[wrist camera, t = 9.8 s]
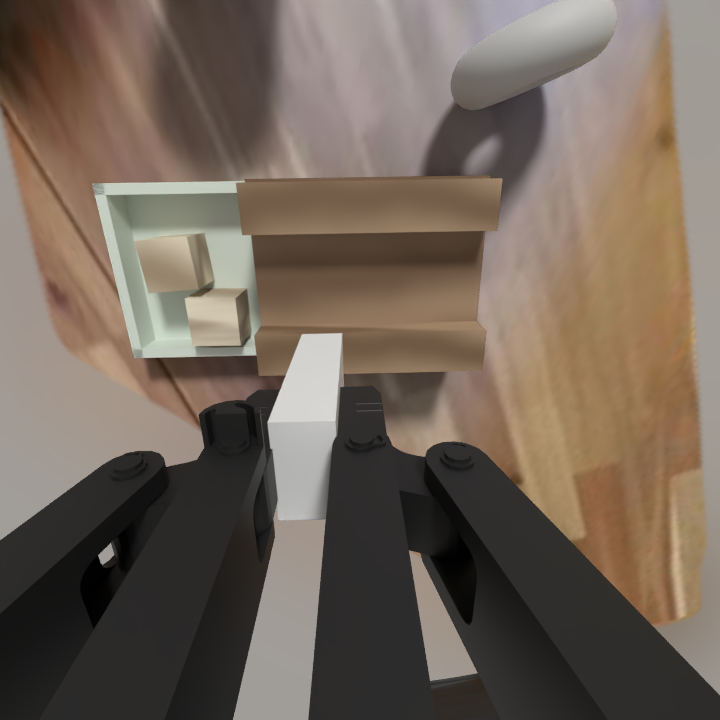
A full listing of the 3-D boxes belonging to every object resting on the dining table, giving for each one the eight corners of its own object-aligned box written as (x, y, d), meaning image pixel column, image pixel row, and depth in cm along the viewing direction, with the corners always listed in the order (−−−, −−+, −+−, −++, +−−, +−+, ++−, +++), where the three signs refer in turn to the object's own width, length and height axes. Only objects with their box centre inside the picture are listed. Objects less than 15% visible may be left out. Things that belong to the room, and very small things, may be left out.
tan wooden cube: (148, 293, 32) (169, 283, 35) (198, 289, 32) (214, 279, 35) (134, 241, 30) (157, 236, 34) (186, 236, 30) (204, 232, 34)
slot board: (455, 338, 39) (482, 374, 31) (277, 342, 38) (259, 379, 30) (467, 179, 33) (503, 172, 26) (262, 182, 33) (235, 177, 25)
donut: (444, 128, 32) (482, 100, 23) (431, 80, 31) (467, 29, 22) (568, 78, 31) (662, 26, 22) (561, 25, 30) (656, -53, 20)
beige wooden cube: (247, 288, 36) (251, 331, 37) (201, 288, 36) (208, 331, 37) (235, 298, 32) (240, 345, 34) (184, 298, 32) (192, 345, 33)
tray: (272, 342, 38) (266, 355, 35) (151, 345, 38) (134, 358, 35) (256, 182, 33) (246, 181, 30) (116, 185, 33) (92, 183, 30)
